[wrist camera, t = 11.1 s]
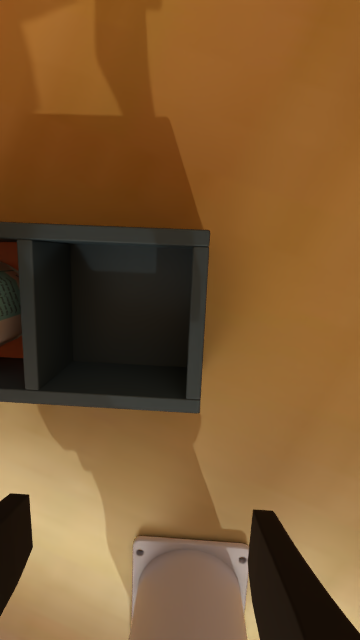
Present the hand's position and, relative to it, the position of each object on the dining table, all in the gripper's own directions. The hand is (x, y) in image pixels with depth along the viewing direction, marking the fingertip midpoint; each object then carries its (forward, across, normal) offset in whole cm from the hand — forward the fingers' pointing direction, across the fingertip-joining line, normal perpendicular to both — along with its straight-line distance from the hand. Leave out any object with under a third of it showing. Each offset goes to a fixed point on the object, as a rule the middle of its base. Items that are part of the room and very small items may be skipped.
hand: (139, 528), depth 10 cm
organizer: (+11, +6, -5) cm, 13 cm away
